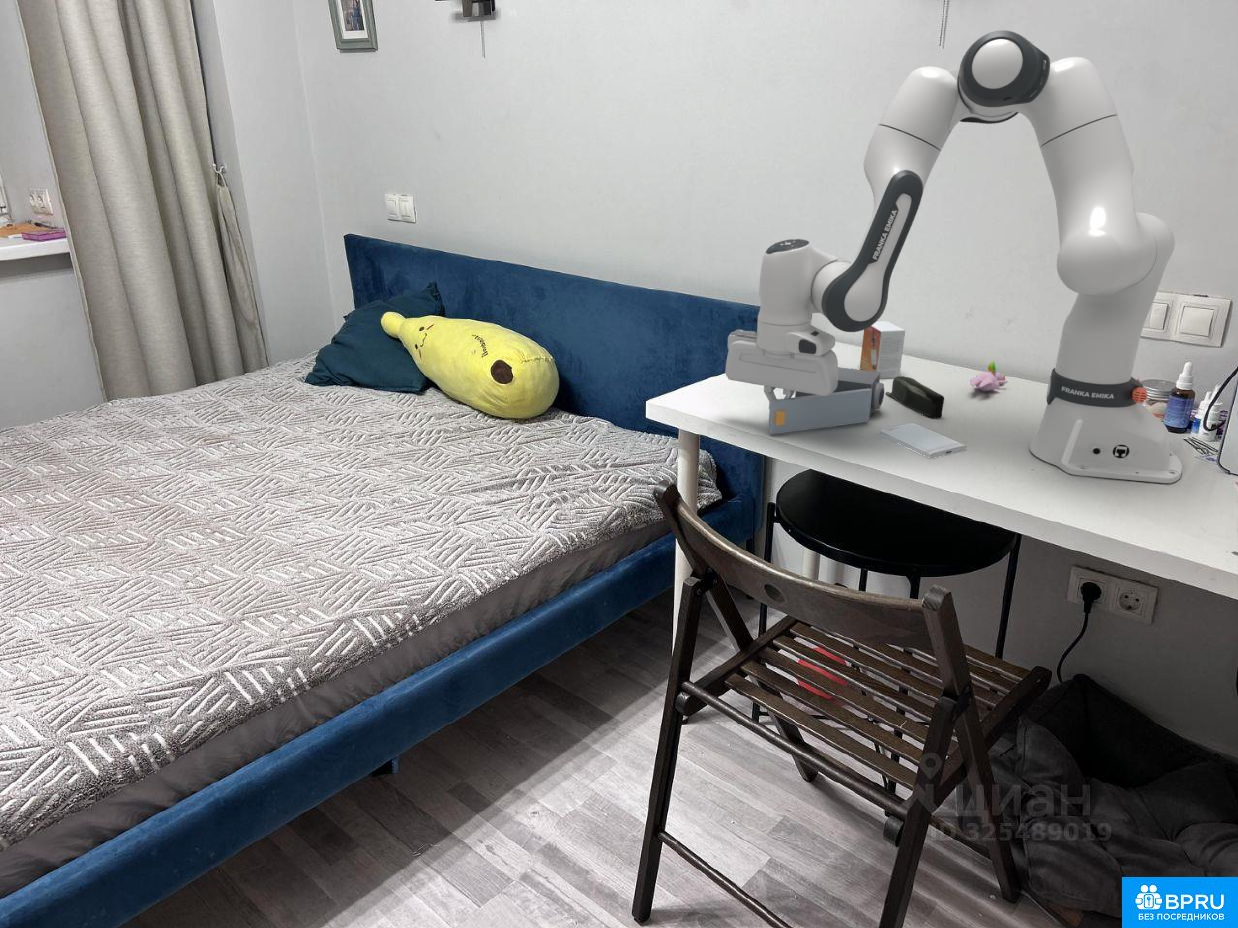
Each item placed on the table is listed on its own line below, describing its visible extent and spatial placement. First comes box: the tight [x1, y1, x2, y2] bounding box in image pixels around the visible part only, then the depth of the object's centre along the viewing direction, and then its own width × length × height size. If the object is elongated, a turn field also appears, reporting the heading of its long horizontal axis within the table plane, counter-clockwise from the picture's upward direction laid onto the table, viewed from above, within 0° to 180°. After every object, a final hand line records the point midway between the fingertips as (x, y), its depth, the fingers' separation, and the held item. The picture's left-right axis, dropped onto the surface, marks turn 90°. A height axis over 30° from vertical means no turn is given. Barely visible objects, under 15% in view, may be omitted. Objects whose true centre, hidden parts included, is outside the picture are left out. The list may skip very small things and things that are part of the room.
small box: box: [859, 320, 906, 380], centre depth 192 cm, size 8×6×10 cm
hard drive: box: [878, 422, 967, 459], centre depth 157 cm, size 2×8×12 cm
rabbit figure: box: [969, 361, 1009, 392], centre depth 182 cm, size 6×6×15 cm
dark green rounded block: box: [885, 375, 945, 419], centre depth 173 cm, size 5×3×15 cm
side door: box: [767, 388, 872, 435], centre depth 162 cm, size 20×2×6 cm, turn 108°
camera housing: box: [794, 366, 885, 419], centre depth 172 cm, size 16×8×8 cm, turn 64°
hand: (778, 410), depth 162 cm, fingers closed
